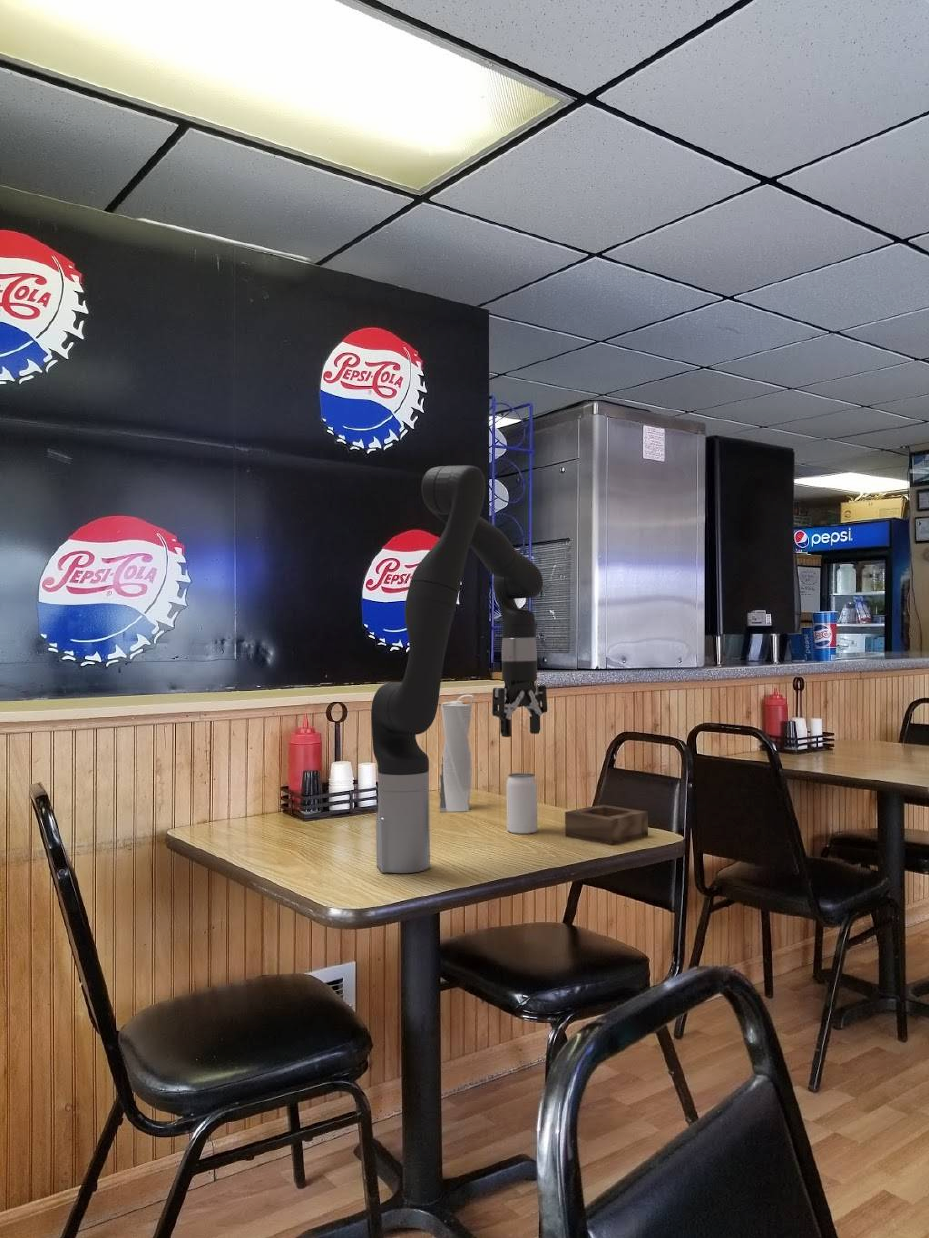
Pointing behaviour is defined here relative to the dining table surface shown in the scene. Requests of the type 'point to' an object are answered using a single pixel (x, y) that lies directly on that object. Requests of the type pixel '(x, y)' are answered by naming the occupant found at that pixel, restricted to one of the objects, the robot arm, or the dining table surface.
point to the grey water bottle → (456, 757)
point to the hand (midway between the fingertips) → (520, 735)
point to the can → (521, 803)
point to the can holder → (606, 824)
